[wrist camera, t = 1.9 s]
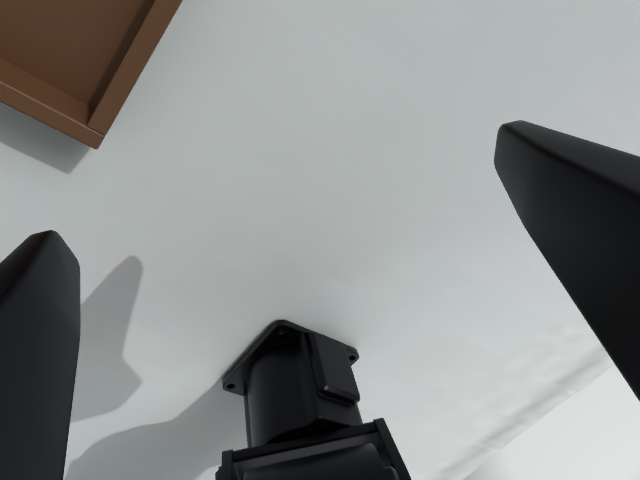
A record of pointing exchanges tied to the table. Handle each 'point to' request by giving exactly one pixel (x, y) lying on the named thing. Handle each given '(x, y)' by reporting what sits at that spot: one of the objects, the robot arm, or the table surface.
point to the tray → (77, 58)
